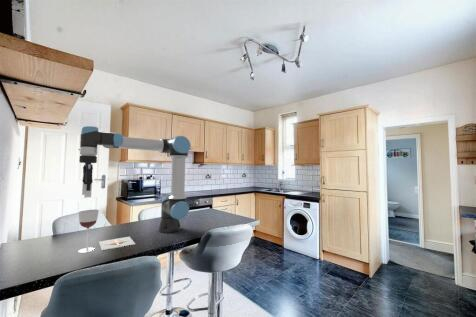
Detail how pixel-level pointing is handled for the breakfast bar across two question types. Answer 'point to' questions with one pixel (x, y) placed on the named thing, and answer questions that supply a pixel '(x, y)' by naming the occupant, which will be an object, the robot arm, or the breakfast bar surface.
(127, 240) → the mat
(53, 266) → the breakfast bar surface
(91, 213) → the wineglass
